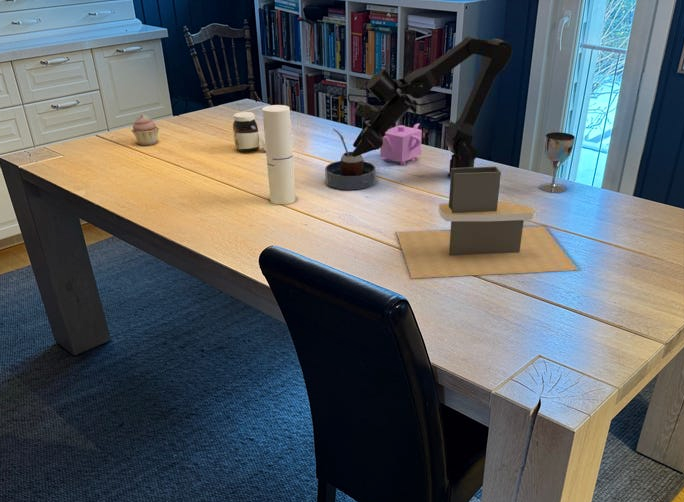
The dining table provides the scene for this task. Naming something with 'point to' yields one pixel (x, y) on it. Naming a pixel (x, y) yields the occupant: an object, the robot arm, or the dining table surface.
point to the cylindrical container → (279, 153)
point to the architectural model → (481, 234)
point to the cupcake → (145, 131)
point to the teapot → (401, 144)
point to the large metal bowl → (350, 177)
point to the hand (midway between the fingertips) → (353, 151)
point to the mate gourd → (350, 162)
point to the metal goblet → (557, 155)
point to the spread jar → (247, 133)
